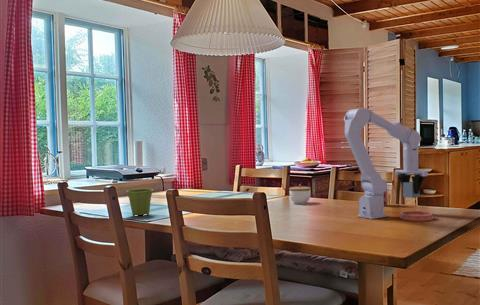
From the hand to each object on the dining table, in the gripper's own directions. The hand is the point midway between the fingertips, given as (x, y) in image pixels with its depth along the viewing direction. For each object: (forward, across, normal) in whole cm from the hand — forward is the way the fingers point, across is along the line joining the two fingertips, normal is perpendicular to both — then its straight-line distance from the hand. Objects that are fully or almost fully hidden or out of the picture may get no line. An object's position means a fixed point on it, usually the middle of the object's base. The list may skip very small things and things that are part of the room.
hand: (411, 192), depth 191 cm
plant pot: (+9, +72, +91) cm, 116 cm away
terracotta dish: (+9, -8, +7) cm, 14 cm away
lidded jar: (+9, +55, +15) cm, 57 cm away
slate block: (+2, 0, 0) cm, 2 cm away
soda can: (+9, +25, -8) cm, 27 cm away
